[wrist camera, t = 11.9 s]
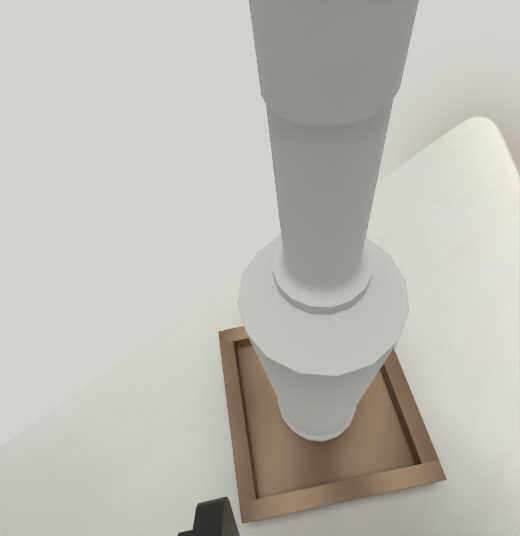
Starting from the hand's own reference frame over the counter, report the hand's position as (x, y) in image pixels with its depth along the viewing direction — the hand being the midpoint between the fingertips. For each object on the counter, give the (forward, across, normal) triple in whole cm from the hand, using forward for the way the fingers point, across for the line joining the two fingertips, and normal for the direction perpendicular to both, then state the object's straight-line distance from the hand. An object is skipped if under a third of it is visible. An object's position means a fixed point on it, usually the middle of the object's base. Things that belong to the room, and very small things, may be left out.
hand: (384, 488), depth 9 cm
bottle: (+15, 0, +7) cm, 16 cm away
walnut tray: (+15, 0, +8) cm, 17 cm away
